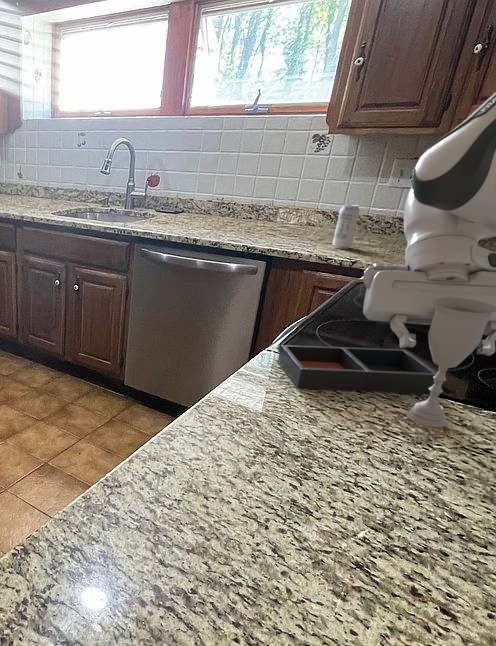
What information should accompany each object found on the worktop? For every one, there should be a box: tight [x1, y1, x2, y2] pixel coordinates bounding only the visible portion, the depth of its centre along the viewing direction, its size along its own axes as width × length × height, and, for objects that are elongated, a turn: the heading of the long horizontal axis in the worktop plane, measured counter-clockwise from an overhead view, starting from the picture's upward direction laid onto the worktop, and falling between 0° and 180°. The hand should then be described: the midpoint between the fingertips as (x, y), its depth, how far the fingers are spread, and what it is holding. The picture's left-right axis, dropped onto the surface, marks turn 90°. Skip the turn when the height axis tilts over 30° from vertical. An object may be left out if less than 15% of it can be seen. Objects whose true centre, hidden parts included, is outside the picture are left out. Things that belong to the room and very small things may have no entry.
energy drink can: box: [332, 203, 361, 250], centre depth 189 cm, size 6×6×15 cm
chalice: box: [405, 298, 496, 428], centre depth 76 cm, size 7×7×18 cm
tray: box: [277, 344, 438, 396], centre depth 92 cm, size 21×11×4 cm, turn 81°
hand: (446, 350), depth 76 cm, fingers open, 8 cm apart
